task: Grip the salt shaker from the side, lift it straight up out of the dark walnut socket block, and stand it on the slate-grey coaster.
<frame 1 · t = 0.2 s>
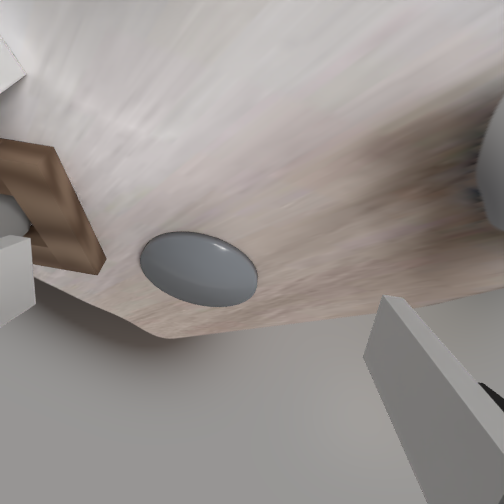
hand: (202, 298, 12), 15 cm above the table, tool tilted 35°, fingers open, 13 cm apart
coaster: (200, 270, 38), on the table
socket block: (11, 201, 33), on the table
salt shaker: (12, 199, 33), resting in socket block
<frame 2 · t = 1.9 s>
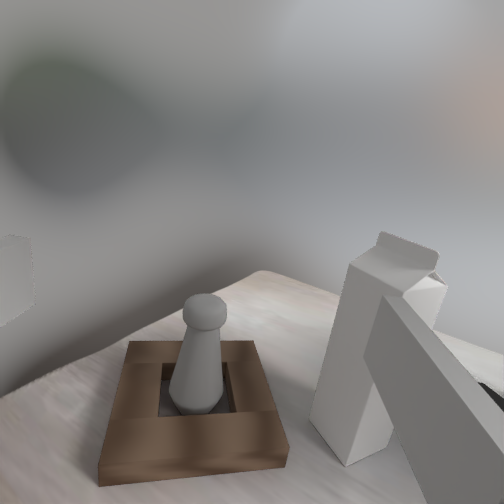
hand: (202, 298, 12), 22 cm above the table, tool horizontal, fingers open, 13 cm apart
milk: (345, 434, 34), on the table
socket block: (194, 403, 35), on the table
salt shaker: (194, 405, 35), resting in socket block
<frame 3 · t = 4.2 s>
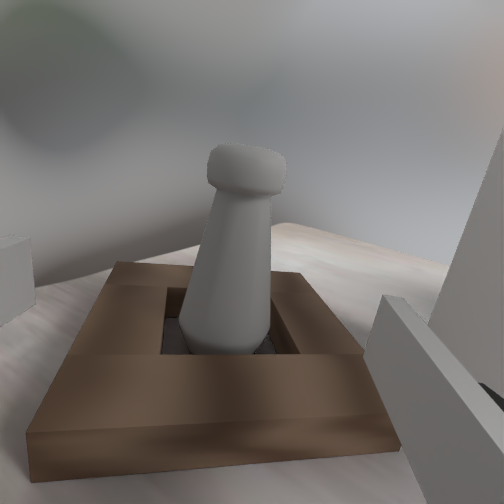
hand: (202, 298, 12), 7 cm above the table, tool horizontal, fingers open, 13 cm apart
milk: (475, 401, 20), on the table
socket block: (220, 348, 21), on the table
salt shaker: (220, 351, 21), resting in socket block
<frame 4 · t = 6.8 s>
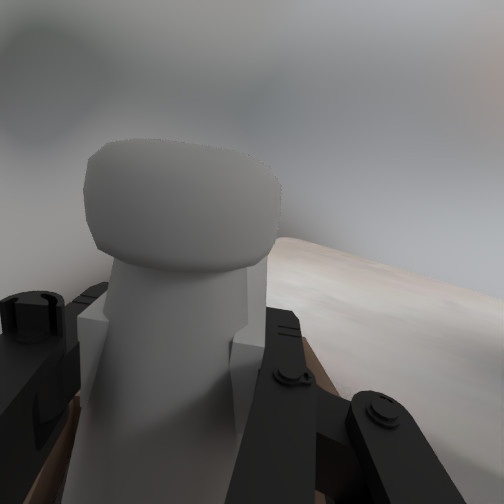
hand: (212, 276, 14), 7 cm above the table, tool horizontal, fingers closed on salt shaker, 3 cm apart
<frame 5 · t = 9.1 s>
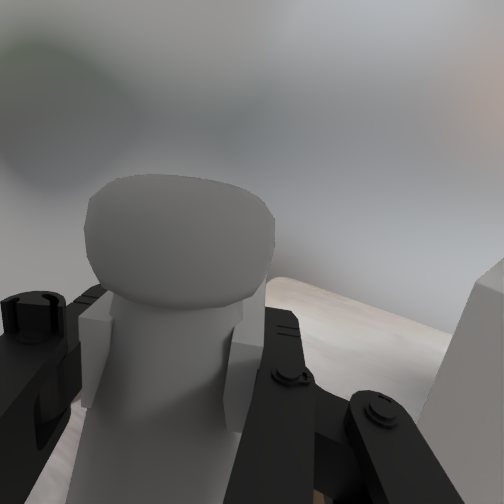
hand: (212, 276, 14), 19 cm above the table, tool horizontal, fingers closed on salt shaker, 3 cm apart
when the fingers open (10 cm above the table, at t = 11.4 s): salt shaker stays where it is, resting on coaster.
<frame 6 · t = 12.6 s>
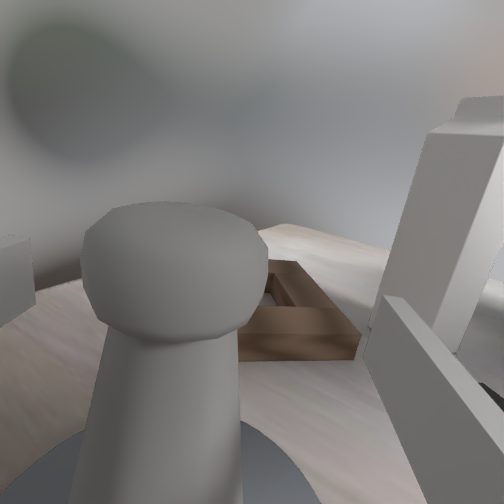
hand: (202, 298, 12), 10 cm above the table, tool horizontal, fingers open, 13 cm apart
milk: (409, 340, 31), on the table
socket block: (244, 308, 32), on the table
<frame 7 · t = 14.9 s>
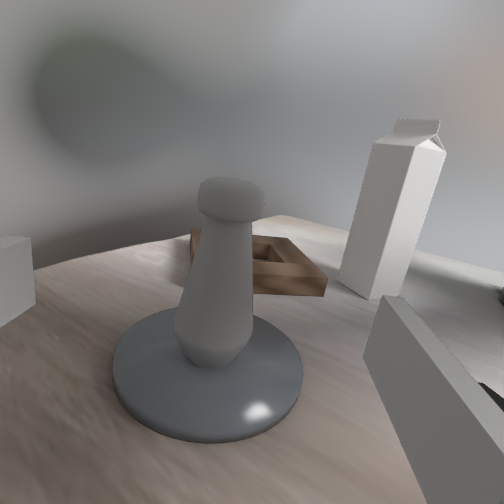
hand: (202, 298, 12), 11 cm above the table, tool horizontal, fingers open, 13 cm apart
milk: (366, 289, 44), on the table
coaster: (211, 361, 24), on the table
socket block: (248, 267, 44), on the table
salt shaker: (210, 353, 24), point 1 cm above the table, touching coaster
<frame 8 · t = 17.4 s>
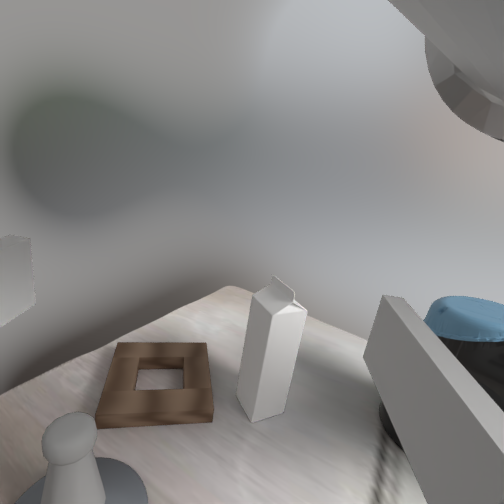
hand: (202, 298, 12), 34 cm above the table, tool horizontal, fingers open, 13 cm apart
milk: (258, 404, 52), on the table
socket block: (159, 384, 52), on the table
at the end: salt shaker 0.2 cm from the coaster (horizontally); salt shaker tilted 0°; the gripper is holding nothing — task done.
